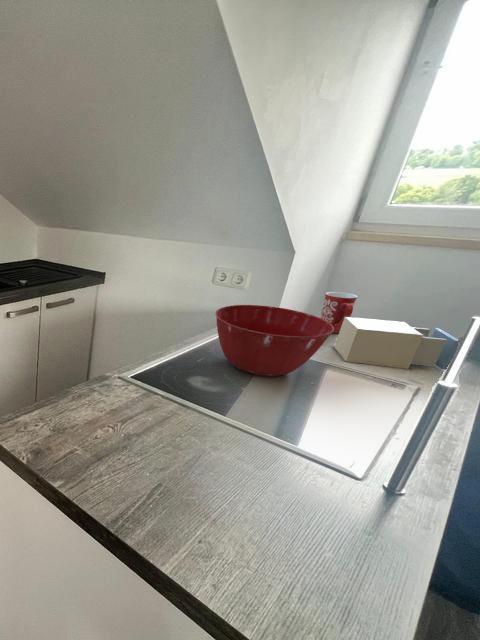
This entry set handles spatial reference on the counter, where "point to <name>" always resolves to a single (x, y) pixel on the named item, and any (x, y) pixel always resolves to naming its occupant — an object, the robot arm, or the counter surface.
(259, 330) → the mixing bowl
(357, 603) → the counter surface
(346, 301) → the mug
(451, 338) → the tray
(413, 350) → the beige rectangular block
